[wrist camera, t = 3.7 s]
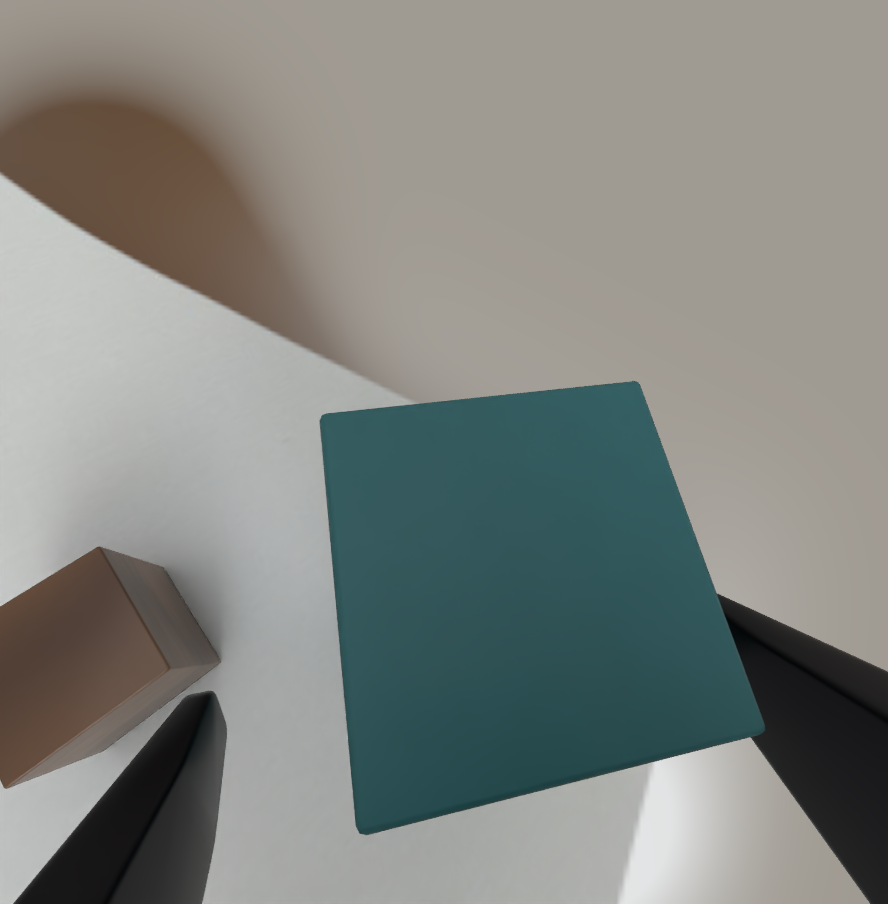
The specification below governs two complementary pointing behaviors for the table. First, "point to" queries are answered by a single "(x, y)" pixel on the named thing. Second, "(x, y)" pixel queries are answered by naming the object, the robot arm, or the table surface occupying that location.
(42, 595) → the block
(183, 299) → the table surface
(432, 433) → the teal block
